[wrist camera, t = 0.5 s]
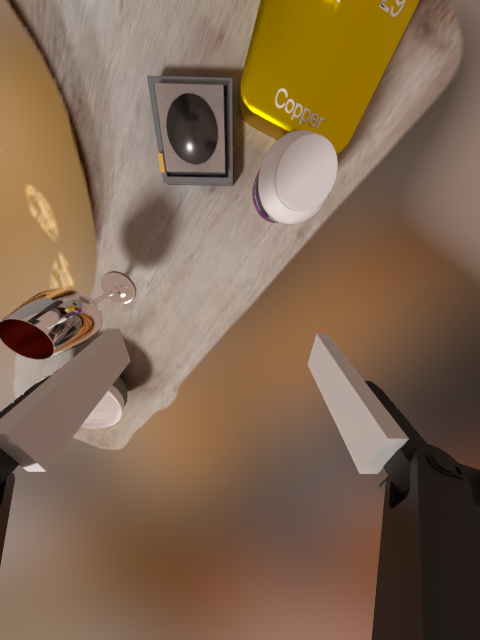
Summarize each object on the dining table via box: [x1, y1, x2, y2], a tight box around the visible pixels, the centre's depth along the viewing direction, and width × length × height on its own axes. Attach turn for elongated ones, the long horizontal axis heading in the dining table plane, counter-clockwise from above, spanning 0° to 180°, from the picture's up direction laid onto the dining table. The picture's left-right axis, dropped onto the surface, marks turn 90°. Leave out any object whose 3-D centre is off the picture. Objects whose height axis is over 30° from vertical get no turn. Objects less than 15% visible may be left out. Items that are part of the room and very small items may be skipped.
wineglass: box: [0, 272, 135, 360], centre depth 28 cm, size 8×8×18 cm
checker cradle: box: [147, 76, 233, 186], centre depth 24 cm, size 10×10×3 cm
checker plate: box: [154, 83, 226, 176], centre depth 24 cm, size 8×8×2 cm
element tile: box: [240, 0, 419, 155], centre depth 21 cm, size 15×15×5 cm
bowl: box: [36, 370, 127, 428], centre depth 44 cm, size 19×19×8 cm
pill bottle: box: [252, 130, 338, 224], centre depth 22 cm, size 8×8×14 cm
